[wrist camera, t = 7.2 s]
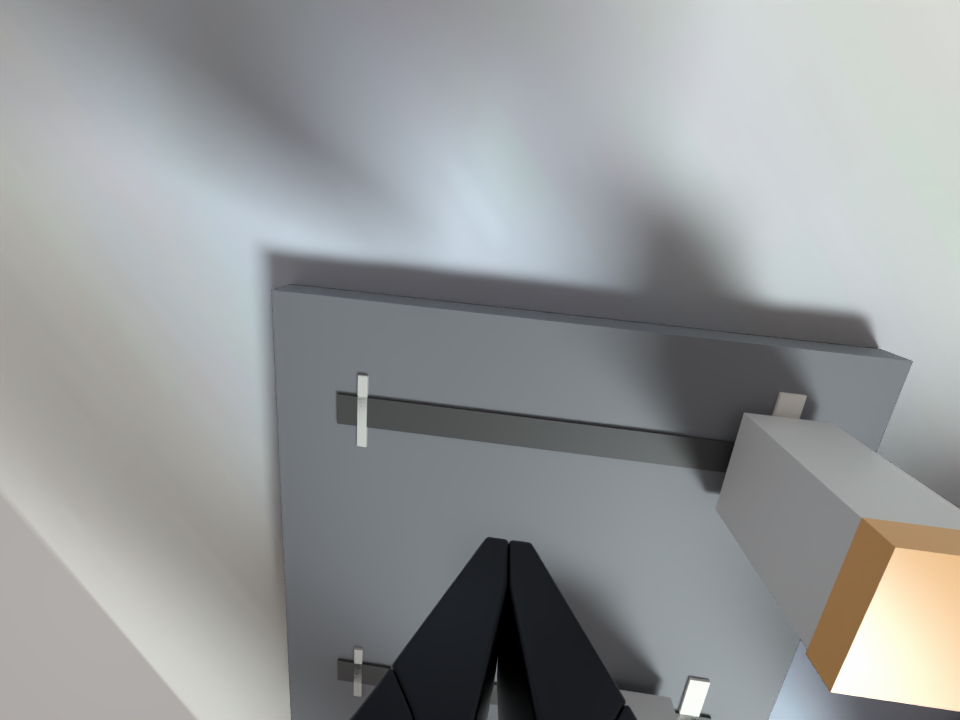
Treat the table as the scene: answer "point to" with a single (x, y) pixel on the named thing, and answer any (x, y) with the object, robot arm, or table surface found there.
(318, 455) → the console
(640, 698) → the fader
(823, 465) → the fader
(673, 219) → the table surface
